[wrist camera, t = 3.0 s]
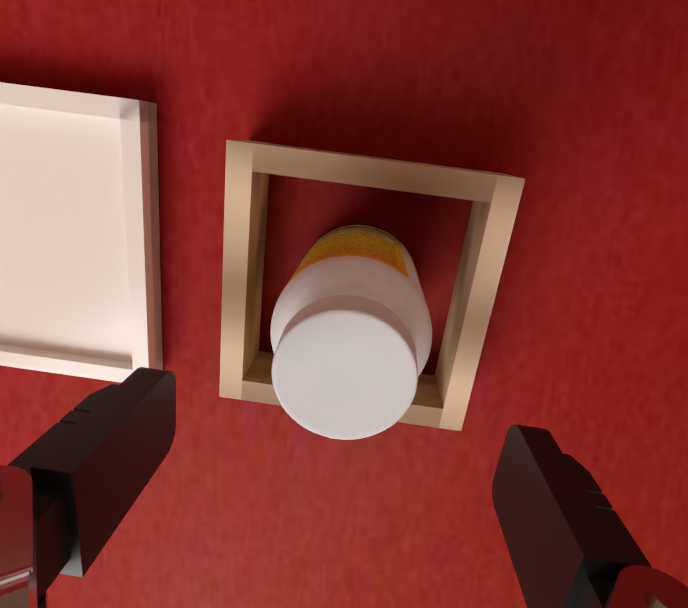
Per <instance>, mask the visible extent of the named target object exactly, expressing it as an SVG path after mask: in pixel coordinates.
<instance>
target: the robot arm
mask: <svg viewBox="0 0 688 608" xmlns="http://www.w3.org/2000/svg"><path fill="white" fill-rule="evenodd" d="M175 428H176V379H175V375H174V373H173V372H171V371H165V370H159V369H152V368H145V367H139V368H137V369H136V370H135V371H134V372H133V373H132V374H131V375H130V376H128V377H127V378H126V379H125V380H124V381H123V382H122V383H121V384H120V385H115V384H112V385H109V386H107V387H105V388H103V389H101V390H99V391H96V392H94V393H92V394H90V395H89V396H88V397H86V398H85V399H84V400H83V401H82V402H81V403H79V404H78V405H77V406H76V407H75V408H74V410H73V411H70V412H69V413H68V414H67V415H65V416H64V417H63V418H62V419H61V420H60V423H56V424H55V425H54V426H53V427H51V428H50V429H49V430H48V431H47V432H46V433H44V434H43V435H42V436H41V437H40V438H39V439H37V440H36V441H35V442H34V443H33V444H32V445H30V446H29V447H28V448H27V449H26V450H25V451H23V452H22V453H21V454H20V455H19V456H18V457H16V458H15V459H14V460H13V461H12V462H11V463H9V464H8V465H7V466H0V608H48V595H47V589H48V588H49V586H50V585H51V584H52V582H53V581H54V580H55V578H56V577H57V576H58V574H59V573H60V574H66V575H72V576H79V577H83V576H84V575H85V573H86V572H87V570H88V569H89V567H90V566H91V564H92V563H93V562H94V560H95V559H96V557H97V556H98V554H99V553H100V551H101V550H102V548H103V547H104V546H105V544H106V543H107V541H108V540H109V538H110V537H111V535H112V534H113V532H114V531H115V530H116V528H117V527H118V525H119V524H120V522H121V521H122V519H123V518H124V516H125V515H126V513H127V512H128V511H129V509H130V508H131V506H132V505H133V503H134V502H135V500H136V499H137V497H138V496H139V495H140V493H141V492H142V490H143V489H144V487H145V486H146V484H147V483H148V481H149V480H150V479H151V477H152V476H153V474H154V473H155V471H156V470H157V468H158V467H159V465H160V464H161V463H162V461H163V460H164V458H165V457H166V455H167V454H168V452H169V450H170V448H171V445H172V442H173V439H174V435H175ZM492 496H493V503H494V507H495V510H496V513H497V516H498V519H499V523H500V526H501V529H502V532H503V535H504V538H505V541H506V544H507V547H508V550H509V553H510V556H511V559H512V562H513V565H514V568H515V571H516V574H517V577H518V580H519V583H520V586H521V589H522V593H523V596H524V599H525V602H526V605H527V608H688V587H687V586H686V585H684V584H683V583H682V582H680V581H679V580H677V579H675V578H674V577H672V576H670V575H668V574H666V573H664V572H662V571H659V570H657V569H654V568H652V566H651V565H650V563H649V562H648V560H647V559H646V557H645V556H644V554H643V553H642V551H641V550H640V548H639V547H638V545H637V544H636V542H635V541H634V539H633V538H632V536H631V535H630V533H629V532H628V530H627V528H626V527H625V525H624V524H623V522H622V521H621V519H620V518H619V516H618V515H617V513H616V512H615V511H613V510H612V506H611V504H610V503H609V501H608V500H607V498H606V497H605V495H603V494H602V490H601V489H600V487H599V486H598V484H597V483H596V481H595V480H594V478H593V477H592V475H591V474H590V472H589V471H588V470H586V469H585V468H584V467H583V466H582V465H581V464H580V463H578V462H577V461H576V460H575V459H574V458H573V457H572V456H570V455H567V454H563V453H562V451H561V450H560V448H559V447H558V445H557V443H556V442H555V440H554V438H553V437H552V435H551V433H550V432H549V431H548V430H546V429H542V428H535V427H528V426H522V425H515V424H513V425H512V426H511V427H510V428H509V430H508V432H507V436H506V439H505V442H504V445H503V449H502V452H501V455H500V459H499V462H498V465H497V468H496V472H495V475H494V479H493V486H492Z"/></svg>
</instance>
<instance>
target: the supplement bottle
mask: <svg viewBox="0 0 688 608" xmlns="http://www.w3.org/2000/svg"><path fill="white" fill-rule="evenodd" d="M270 335H271V344H272V348H273V352H274V357H273V362H272V382H273V387H274V390H275V393H276V395H277V398H278V400H279V402H280V404H281V405H282V407H283V408H284V409H285V411H286V412H287V413H288V414H289V415H290V417H291V418H293V419H294V420H295V421H296V422H297V423H298V424H300V425H301V426H303V427H304V428H306V429H308V430H309V431H312V432H314V433H316V434H319V435H322V436H325V437H329V438H333V439H341V440H350V439H360V438H365V437H368V436H372V435H375V434H377V433H380V432H382V431H384V430H386V429H387V428H389V427H391V426H392V425H393V424H395V423H396V422H397V421H398V420H399V419H400V418H401V417H402V416H403V415H404V414H405V412H406V411H407V410H408V408H409V406H410V405H411V403H412V401H413V399H414V396H415V393H416V390H417V383H418V377H419V375H420V374H421V372H422V370H423V369H424V367H425V364H426V362H427V360H428V357H429V354H430V350H431V344H432V325H431V318H430V314H429V310H428V306H427V304H426V300H425V297H424V294H423V291H422V288H421V285H420V281H419V278H418V274H417V271H416V268H415V265H414V262H413V260H412V258H411V256H410V254H409V253H408V251H407V249H406V248H405V247H404V246H403V244H402V243H400V242H399V241H398V240H397V239H396V238H395V237H394V236H392V235H391V234H389V233H388V232H385V231H383V230H381V229H378V228H374V227H370V226H364V225H349V226H343V227H340V228H337V229H335V230H332V231H330V232H328V233H327V234H325V235H324V236H322V237H321V238H320V239H319V240H318V241H317V242H316V243H315V244H314V245H313V246H312V247H311V249H310V250H309V252H308V253H307V254H306V256H305V257H304V259H303V260H302V262H301V264H300V265H299V267H298V268H297V270H296V271H295V273H294V274H293V276H292V277H291V279H290V281H289V282H288V284H287V285H286V287H285V288H284V290H283V291H282V293H281V294H280V296H279V298H278V300H277V302H276V305H275V308H274V311H273V315H272V320H271V330H270Z"/></svg>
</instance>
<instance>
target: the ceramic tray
mask: <svg viewBox="0 0 688 608" xmlns="http://www.w3.org/2000/svg"><path fill="white" fill-rule="evenodd" d="M0 365H2V366H9V367H16V368H23V369H30V370H37V371H44V372H51V373H58V374H65V375H72V376H79V377H86V378H93V379H100V380H107V381H114V382H121V383H122V382H123V381H124V380H125V379H126V378H127V377H128V376H130V375H131V374H132V373H133V372H134V371H135V370H136V369H137V368H139V367H145V368H152V369H159V370H163V353H162V311H161V269H160V227H159V186H158V144H157V103H152V102H147V101H141V100H134V99H127V98H119V97H111V96H103V95H96V94H88V93H80V92H72V91H65V90H57V89H49V88H41V87H34V86H26V85H18V84H10V83H3V82H0Z"/></svg>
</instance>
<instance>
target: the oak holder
mask: <svg viewBox="0 0 688 608" xmlns="http://www.w3.org/2000/svg"><path fill="white" fill-rule="evenodd" d="M269 174H275V175H283V176H290V177H298V178H306V179H313V180H321V181H328V182H336V183H344V184H351V185H359V186H366V187H374V188H382V189H389V190H397V191H404V192H412V193H420V194H427V195H435V196H442V197H450V198H458V199H465V200H473V202H472V207H471V212H470V216H469V221H468V225H467V230H466V234H465V239H464V244H463V248H462V253H461V257H460V262H459V266H458V271H457V276H456V280H455V285H454V289H453V294H452V298H451V303H450V308H449V312H448V317H447V321H446V326H445V330H444V335H443V340H442V344H441V349H440V353H439V358H438V362H437V367H436V372H435V376H434V375H427V374H420V375H419V377H418V383H417V390H416V393H415V396H414V399H413V401H412V403H411V405H410V406H409V408H408V410H407V411H406V412H405V414H404V415H403V416H402V417H401V418H400V419H399V420H398V421H397V422H401V423H408V424H415V425H422V426H429V427H436V428H443V429H450V430H457V431H461V429H462V425H463V421H464V417H465V414H466V410H467V406H468V402H469V398H470V394H471V390H472V386H473V382H474V378H475V374H476V370H477V366H478V363H479V359H480V355H481V351H482V347H483V343H484V339H485V335H486V331H487V327H488V323H489V319H490V316H491V312H492V308H493V304H494V300H495V296H496V292H497V288H498V284H499V280H500V276H501V272H502V268H503V265H504V261H505V257H506V253H507V249H508V245H509V241H510V237H511V233H512V229H513V225H514V221H515V218H516V214H517V210H518V206H519V202H520V198H521V194H522V190H523V186H524V182H525V178H520V177H516V176H512V175H507V174H503V173H495V172H488V171H480V170H472V169H465V168H457V167H449V166H442V165H434V164H426V163H419V162H411V161H403V160H395V159H388V158H380V157H372V156H365V155H357V154H349V153H342V152H334V151H326V150H319V149H311V148H303V147H296V146H288V145H280V144H273V143H265V142H257V141H250V140H226V172H225V208H224V245H223V282H222V319H221V356H220V393H219V397H225V398H232V399H239V400H246V401H253V402H260V403H267V404H274V405H281V404H280V402H279V400H278V398H277V395H276V393H275V390H274V387H273V382H272V362H273V357H274V353H270V352H263V351H259V337H260V321H261V304H262V287H263V271H264V254H265V238H266V221H267V205H268V188H269ZM281 406H282V405H281Z"/></svg>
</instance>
